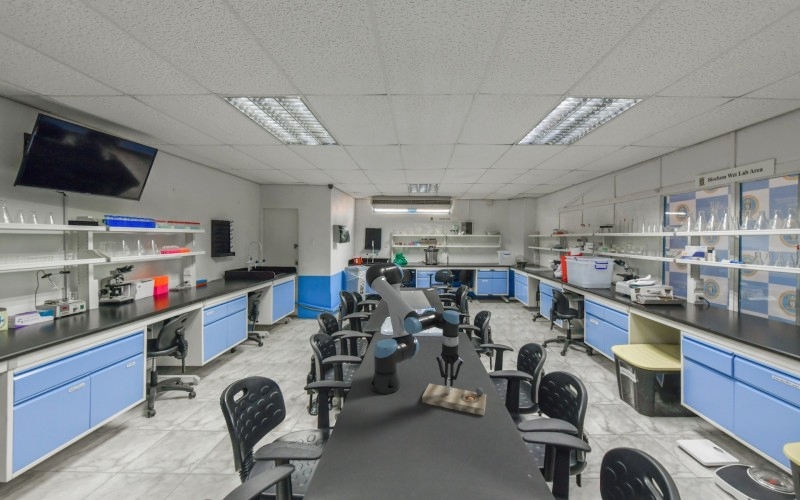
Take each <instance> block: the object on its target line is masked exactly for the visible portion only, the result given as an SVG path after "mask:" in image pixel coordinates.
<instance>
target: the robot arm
mask: <svg viewBox="0 0 800 500" xmlns="http://www.w3.org/2000/svg"><path fill="white" fill-rule="evenodd" d="M403 279H404V271H403V268H402V266H401V265H400V264H398V263H396V262H382V263H381V262H380V263H373V264H372V265H369V267H367V270H366V271H365V281H366V284H367V285H368V287H369V288H370V289H371V290H372V291H374V292H376V293H377V294H378V295H379V296H380V297H381V298H382V300H384V302H385V303H387V304H386V305H387V310H388V313H389V318H390V323H391V329H392V335H391V338H384V339H380V340H378V341H377V342H376V343H375V344H374V351H373V357H374V360H373V361H374V362H373V363H374V364H373V365H374V368H373V369H374V372H373V375H372V378H371V381H370V389H371V391H373V392H374V393H377V394H381V395H389V394H393V393H396V392H398V391H399V390H400V388H401V381H400V380H401V379H400V378H399V375H398V371H397V370H398V369H397V368H398V364H400V363H402V362H405V361H407V360H411V359H413V358H414V357H416V356H417V354H418V353H419V349H420V344H419V340H418V339H417V337H416V336H415V334H419V333H421V332H424V331H427V330H430V329H433V328H435V329H439V330H442V334H441V335H442V337H441V339H442V340H441V341H442V345H441V352H440V355H436V358H435V360H436V361H437V363H438V369H439V372H440V373H439V374H440V378H443V379H444V386H446V387H447V393H448V394H450V392H451V388H453V386H454V380H455V381H456V380H457V379H458V376H459V372H460V369H461V366H462V365H463V363H464V359H462V358H460V355H459V338H460V337H459V332H460V331H459V329H460V327H459V326H460V313H459V312H458V311H456V310H452V309H449V310H444V311H443V312H439V311H437V310H436V311H435V310H432V309H425V310H424V311H423V312H422V313H421V314H419V313H418V312H417V311H416V310H415V309H414V308H413V307H412V306H411V305H410V304H409V303H408V302H407V300H406V299H404V298H403V297H402V293H401V289H400V287H401V285H402V280H403ZM442 360H443V361H444V366H443V361H442ZM455 363H457V367H456V370H455ZM449 365H450V368H449ZM449 370H450V373H449ZM454 370H455V371H454ZM454 373H455V374H454Z"/></svg>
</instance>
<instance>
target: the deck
mask: <svg viewBox="0 0 800 500" xmlns="http://www.w3.org/2000/svg"><path fill="white" fill-rule="evenodd" d="M468 397H472V398H473V399H474V400H473V401H468V400H467V398H468ZM421 399H422V400H421V402H422V403H423V404H428V405H433V406H436V407H437V406H438V407H442V408H446V409H451V410H455V411H460V412H465V413H470V414H474V415H479V416H484V417H485V411H486V404H487V393H483V395H481V396H479V395H477V393H476V391H473V390H467V389H463V388H462V389H460V388H456V387H451V392H450V394H448V393H447V386H446V385H440V384H435V383H428V386H427V387H426V389H425V390H424V392H423V394H422V397H421Z"/></svg>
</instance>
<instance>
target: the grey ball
mask: <svg viewBox="0 0 800 500" xmlns="http://www.w3.org/2000/svg"><path fill="white" fill-rule="evenodd" d="M475 392H476V393H477V395H479V396H481V395H483V394H484V389H483V388H482V387H477V388H476V390H475Z"/></svg>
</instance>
